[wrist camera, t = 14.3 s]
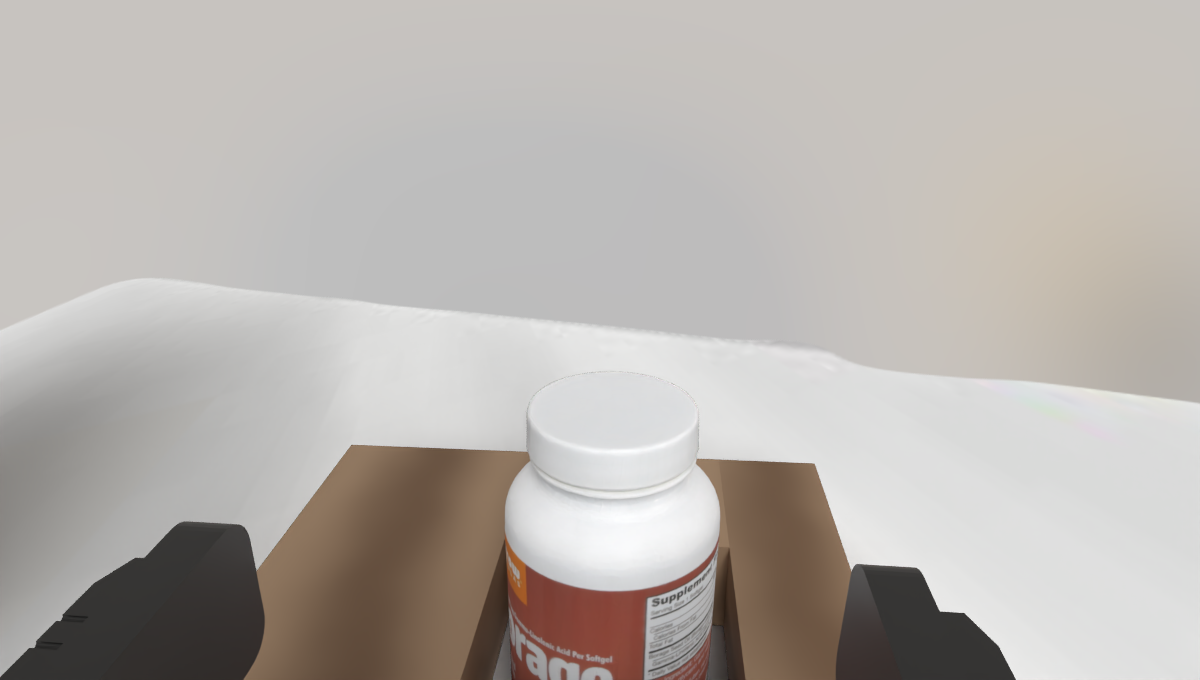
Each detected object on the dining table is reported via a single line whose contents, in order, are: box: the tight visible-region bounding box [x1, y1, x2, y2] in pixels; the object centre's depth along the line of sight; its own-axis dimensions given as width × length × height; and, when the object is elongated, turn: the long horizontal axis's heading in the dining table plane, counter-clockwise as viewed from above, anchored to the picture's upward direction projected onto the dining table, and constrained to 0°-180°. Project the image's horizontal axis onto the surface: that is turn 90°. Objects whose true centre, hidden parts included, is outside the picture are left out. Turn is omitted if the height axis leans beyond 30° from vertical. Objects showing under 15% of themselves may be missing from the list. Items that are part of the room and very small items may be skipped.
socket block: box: [244, 445, 852, 680], centre depth 27 cm, size 20×16×4 cm
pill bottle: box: [505, 371, 720, 680], centre depth 23 cm, size 6×6×11 cm
